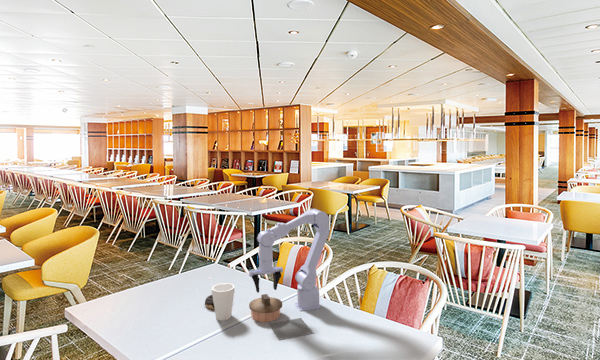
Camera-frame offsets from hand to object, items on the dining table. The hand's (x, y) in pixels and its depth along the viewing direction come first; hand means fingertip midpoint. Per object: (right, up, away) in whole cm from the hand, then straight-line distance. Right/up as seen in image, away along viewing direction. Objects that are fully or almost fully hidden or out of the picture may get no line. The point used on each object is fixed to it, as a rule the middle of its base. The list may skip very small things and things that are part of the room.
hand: (266, 290), depth 160 cm
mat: (+11, -12, -13) cm, 20 cm away
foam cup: (-18, -11, -2) cm, 21 cm away
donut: (-23, -10, +10) cm, 27 cm away
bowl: (0, -11, -1) cm, 10 cm away
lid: (0, -6, -2) cm, 6 cm away
